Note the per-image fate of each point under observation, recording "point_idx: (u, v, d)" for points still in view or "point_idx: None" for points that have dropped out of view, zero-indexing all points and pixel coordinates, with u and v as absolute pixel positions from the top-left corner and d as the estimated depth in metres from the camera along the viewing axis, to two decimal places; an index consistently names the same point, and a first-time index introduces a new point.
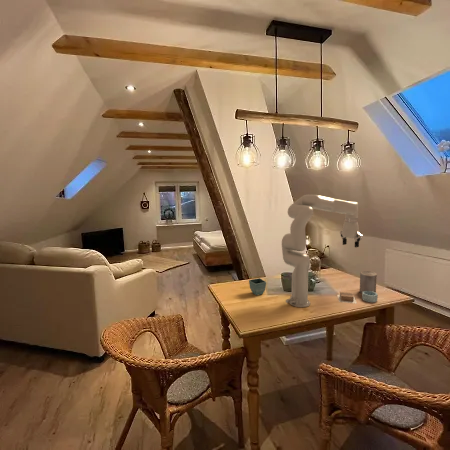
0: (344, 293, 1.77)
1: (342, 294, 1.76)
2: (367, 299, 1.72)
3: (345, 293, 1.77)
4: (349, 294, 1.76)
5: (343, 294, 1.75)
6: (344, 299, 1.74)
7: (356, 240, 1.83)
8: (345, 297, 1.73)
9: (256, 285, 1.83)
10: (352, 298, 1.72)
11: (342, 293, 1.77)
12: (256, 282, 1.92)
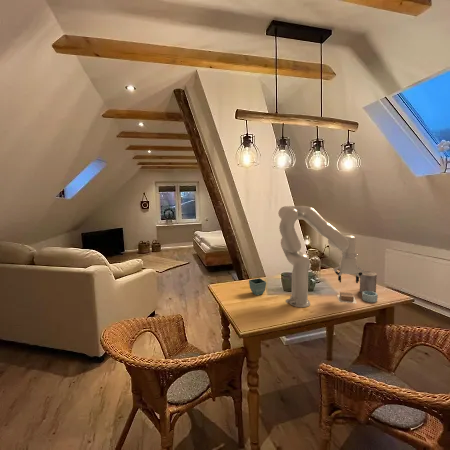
0: (344, 293, 1.77)
1: (342, 294, 1.76)
2: (367, 299, 1.72)
3: (345, 293, 1.77)
4: (349, 294, 1.76)
5: (343, 294, 1.75)
6: (344, 299, 1.74)
7: None
8: (345, 297, 1.73)
9: (256, 285, 1.83)
10: (352, 298, 1.72)
11: (342, 293, 1.77)
12: (256, 282, 1.92)
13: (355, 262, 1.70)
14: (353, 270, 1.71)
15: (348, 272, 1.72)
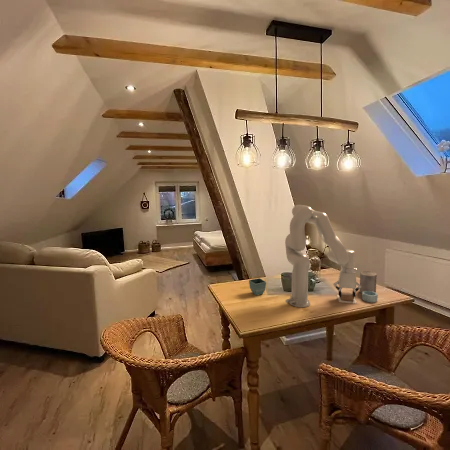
0: (344, 293, 1.77)
1: (342, 294, 1.76)
2: (367, 299, 1.72)
3: (345, 293, 1.77)
4: (349, 294, 1.76)
5: (343, 294, 1.75)
6: (344, 299, 1.74)
7: None
8: (345, 297, 1.73)
9: (256, 285, 1.83)
10: (352, 298, 1.72)
11: (342, 293, 1.77)
12: (256, 282, 1.92)
13: (354, 277, 1.71)
14: (352, 285, 1.72)
15: (347, 286, 1.73)
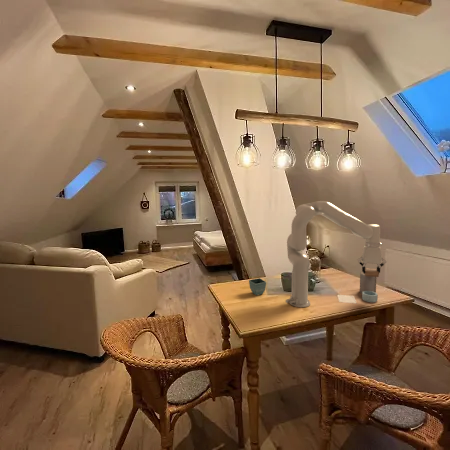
0: (368, 269, 1.73)
1: (366, 270, 1.72)
2: (367, 299, 1.72)
3: (369, 269, 1.73)
4: (373, 270, 1.72)
5: (368, 270, 1.71)
6: (369, 275, 1.70)
7: None
8: (370, 272, 1.69)
9: (256, 285, 1.83)
10: (377, 273, 1.68)
11: (366, 269, 1.74)
12: (256, 282, 1.92)
13: (379, 251, 1.67)
14: (377, 260, 1.68)
15: (371, 262, 1.69)
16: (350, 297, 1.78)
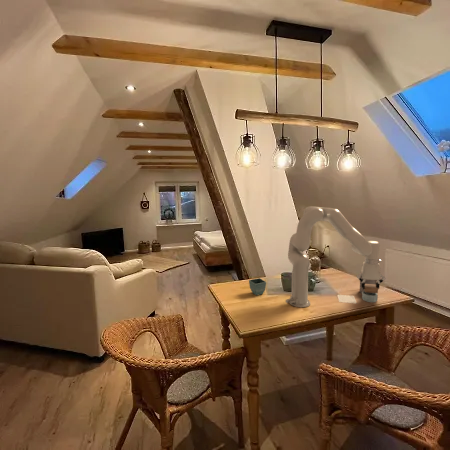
0: (367, 285, 1.75)
1: (365, 286, 1.73)
2: (367, 299, 1.72)
3: (368, 285, 1.75)
4: (373, 286, 1.73)
5: (367, 286, 1.73)
6: (368, 291, 1.71)
7: None
8: (369, 289, 1.71)
9: (256, 285, 1.83)
10: (376, 290, 1.70)
11: (365, 285, 1.75)
12: (256, 282, 1.92)
13: (378, 268, 1.69)
14: (376, 276, 1.70)
15: (371, 278, 1.71)
16: (350, 297, 1.78)
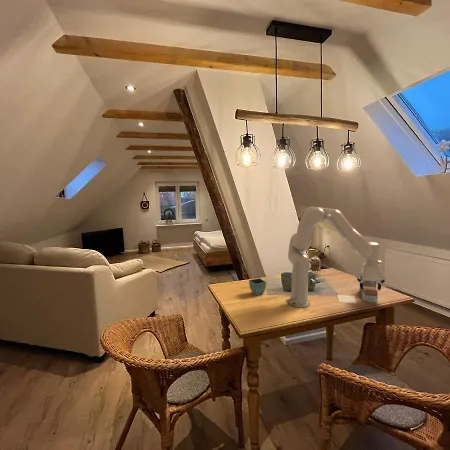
0: (367, 287, 1.75)
1: (365, 288, 1.74)
2: (367, 299, 1.72)
3: (368, 287, 1.75)
4: (372, 288, 1.73)
5: (367, 289, 1.73)
6: (367, 293, 1.71)
7: None
8: (368, 291, 1.71)
9: (256, 285, 1.83)
10: (376, 292, 1.70)
11: (365, 287, 1.75)
12: (256, 282, 1.92)
13: (378, 269, 1.69)
14: (376, 277, 1.70)
15: (370, 279, 1.71)
16: (350, 297, 1.78)
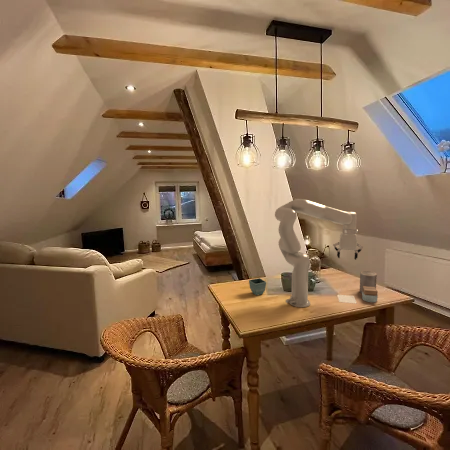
0: (367, 287, 1.75)
1: (365, 288, 1.74)
2: (367, 299, 1.72)
3: (368, 287, 1.75)
4: (372, 288, 1.73)
5: (367, 289, 1.73)
6: (367, 293, 1.71)
7: None
8: (368, 291, 1.71)
9: (256, 285, 1.83)
10: (376, 292, 1.70)
11: (365, 287, 1.75)
12: (256, 282, 1.92)
13: (355, 238, 1.73)
14: (352, 246, 1.74)
15: (347, 248, 1.75)
16: (350, 297, 1.78)
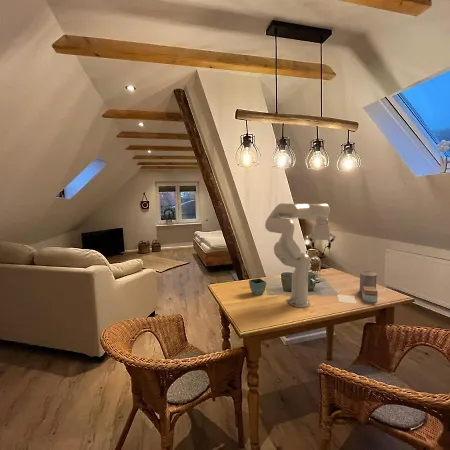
0: (367, 287, 1.75)
1: (365, 288, 1.74)
2: (367, 299, 1.72)
3: (368, 287, 1.75)
4: (372, 288, 1.73)
5: (367, 289, 1.73)
6: (367, 293, 1.71)
7: None
8: (368, 291, 1.71)
9: (256, 285, 1.83)
10: (376, 292, 1.70)
11: (365, 287, 1.75)
12: (256, 282, 1.92)
13: (327, 228, 1.80)
14: (325, 236, 1.81)
15: (321, 238, 1.82)
16: (350, 297, 1.78)
